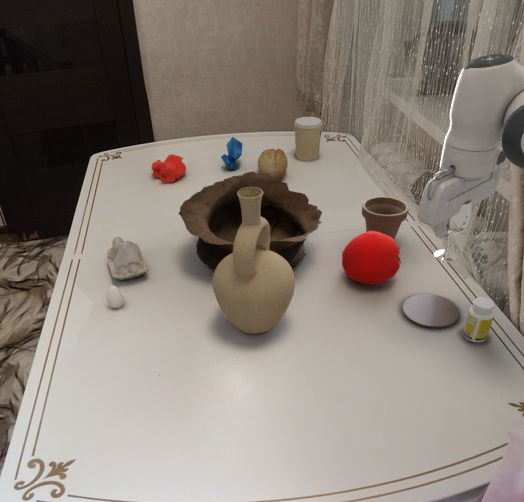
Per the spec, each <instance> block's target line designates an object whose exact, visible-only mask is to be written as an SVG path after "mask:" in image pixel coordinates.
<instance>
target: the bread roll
mask: <svg viewBox="0 0 524 502" xmlns="http://www.w3.org/2000/svg"><path fill="white" fill-rule="evenodd" d="M288 165H289V161H288V157H287V155H286V153H285V152H284V151H283V150H282V149H280V148H277V149H275V148H268V149H264V150H263V151H262V152H261V153H260V155H259V157H258V158H257V167H258V173H269V174H270V175H271V176H272V177H274V178H276V179H277V180H279V181H281V180H282V179H283V177H284V176H285V174H286V173H287V169H288Z"/></svg>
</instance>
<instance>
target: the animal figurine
mask: <svg viewBox="0 0 524 502" xmlns="http://www.w3.org/2000/svg"><path fill="white" fill-rule="evenodd" d="M182 160H185V159H184V157H182V156H180V155H178V154H173V153H172V154H171V153H170V154H168V155H167V157H166V158H165V160H164V161H162V160H161V159H157V160H156V161H153V162H152V164H151V167H150V168H151V171H152V172H151V173H152V175H153V176H155V177H157V178H159V180H160V182H162V183H173V182H175V181H176V179H180V178H182V177H183V176H184V175H185V173H186V172H187V166H186V164H185V163H184V162H183V161H182Z"/></svg>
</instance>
